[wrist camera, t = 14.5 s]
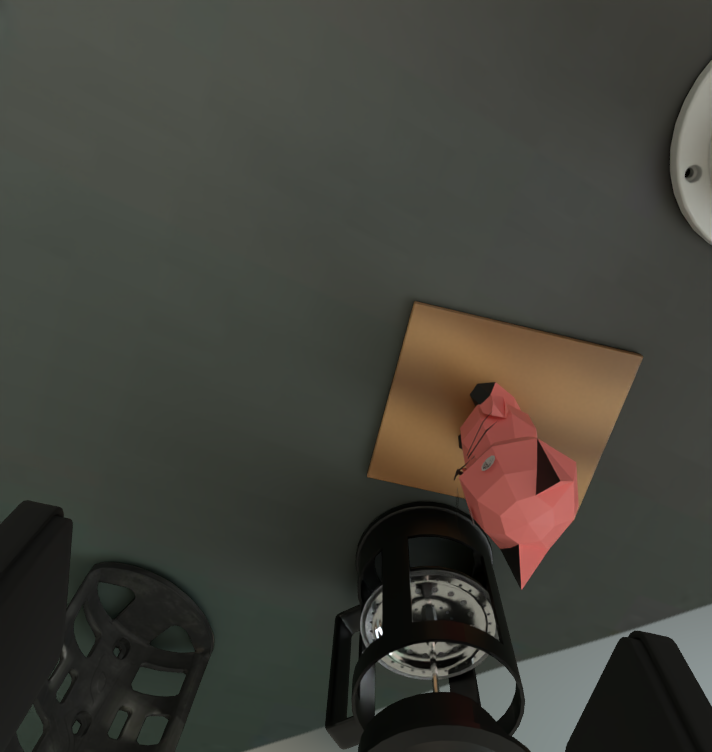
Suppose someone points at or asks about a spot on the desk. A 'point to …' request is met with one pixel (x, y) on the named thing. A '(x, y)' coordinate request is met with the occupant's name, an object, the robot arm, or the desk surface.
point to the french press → (422, 642)
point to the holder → (121, 666)
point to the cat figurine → (514, 480)
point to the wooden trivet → (513, 373)
